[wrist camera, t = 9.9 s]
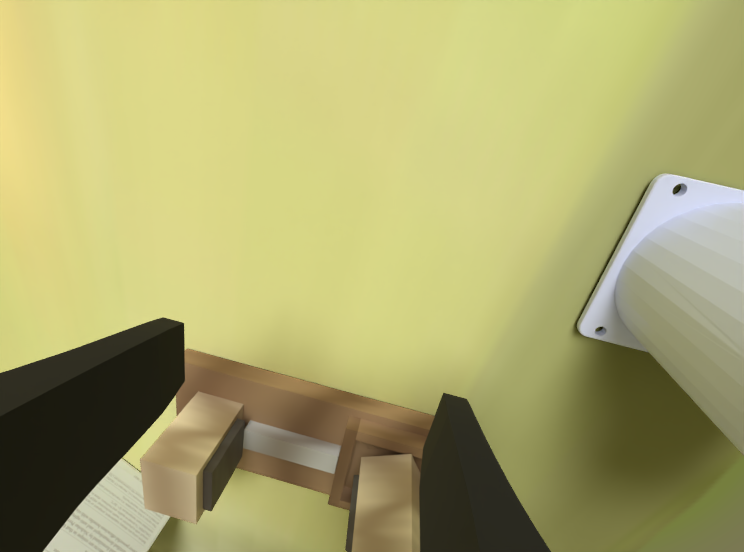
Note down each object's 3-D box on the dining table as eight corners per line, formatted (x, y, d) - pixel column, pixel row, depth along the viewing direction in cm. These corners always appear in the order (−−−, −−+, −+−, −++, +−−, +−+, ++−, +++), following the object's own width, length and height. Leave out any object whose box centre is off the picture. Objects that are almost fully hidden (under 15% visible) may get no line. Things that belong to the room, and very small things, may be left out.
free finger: (411, 454, 21) (412, 562, 17) (425, 484, 23) (429, 586, 19) (353, 457, 22) (340, 562, 18) (372, 486, 24) (365, 584, 20)
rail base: (465, 424, 22) (476, 528, 17) (430, 506, 26) (429, 616, 20) (186, 348, 23) (108, 422, 18) (188, 437, 27) (122, 522, 21)
